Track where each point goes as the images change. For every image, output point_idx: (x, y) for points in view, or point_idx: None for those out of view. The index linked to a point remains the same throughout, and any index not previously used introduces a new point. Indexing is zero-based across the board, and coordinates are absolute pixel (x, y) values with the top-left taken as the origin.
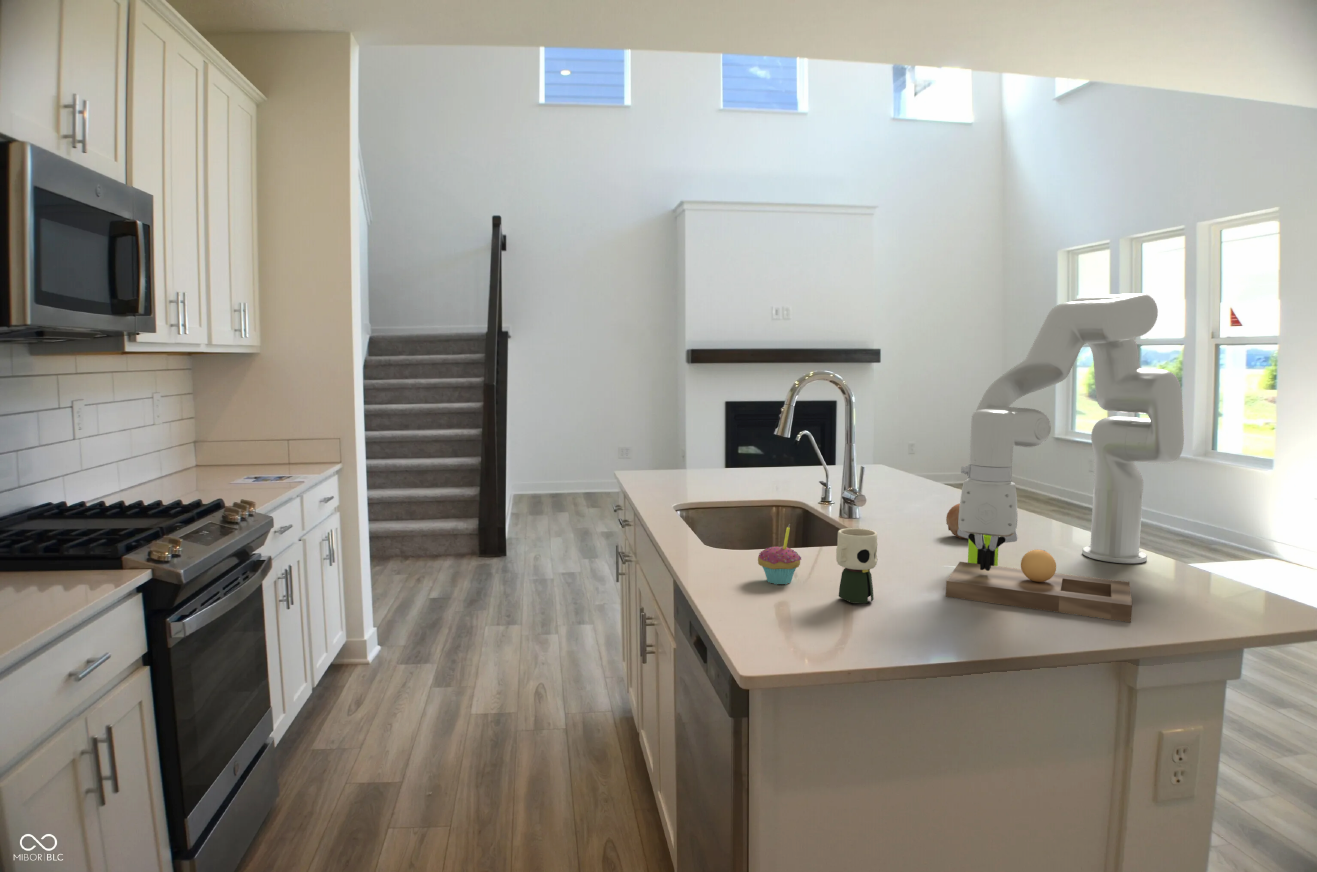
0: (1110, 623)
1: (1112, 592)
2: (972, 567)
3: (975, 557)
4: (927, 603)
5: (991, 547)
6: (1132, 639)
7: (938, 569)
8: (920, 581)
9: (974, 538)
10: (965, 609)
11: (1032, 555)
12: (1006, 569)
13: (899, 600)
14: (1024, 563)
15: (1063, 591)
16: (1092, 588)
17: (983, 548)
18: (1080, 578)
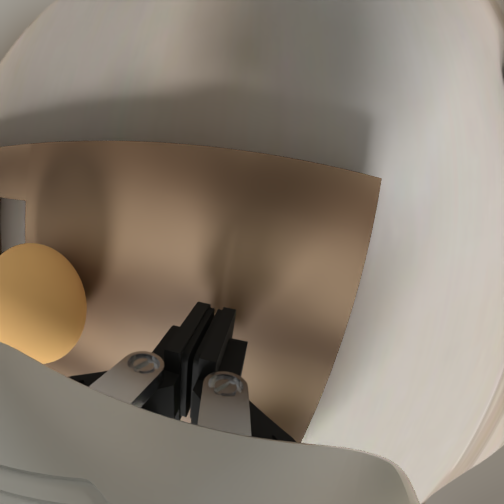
0: (9, 125)
1: None
2: (263, 403)
3: None
4: (407, 92)
5: (149, 365)
6: (13, 59)
7: (342, 443)
8: (417, 330)
9: (253, 436)
10: (297, 59)
11: (9, 291)
12: None
13: (469, 110)
14: (51, 281)
15: (21, 195)
16: None
17: (202, 382)
18: None
